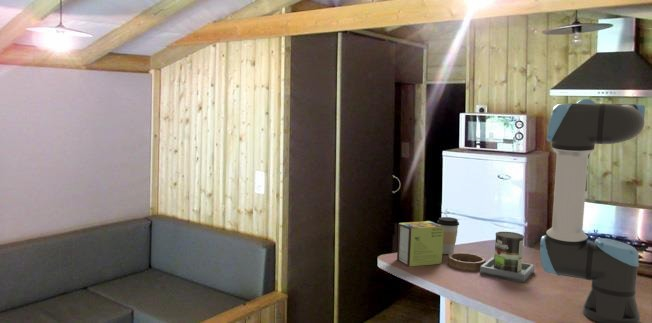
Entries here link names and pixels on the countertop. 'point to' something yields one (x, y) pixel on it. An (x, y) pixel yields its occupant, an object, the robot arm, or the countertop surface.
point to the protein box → (420, 243)
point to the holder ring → (473, 265)
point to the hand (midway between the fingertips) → (566, 200)
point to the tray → (518, 277)
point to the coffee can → (508, 251)
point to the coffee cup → (449, 233)
